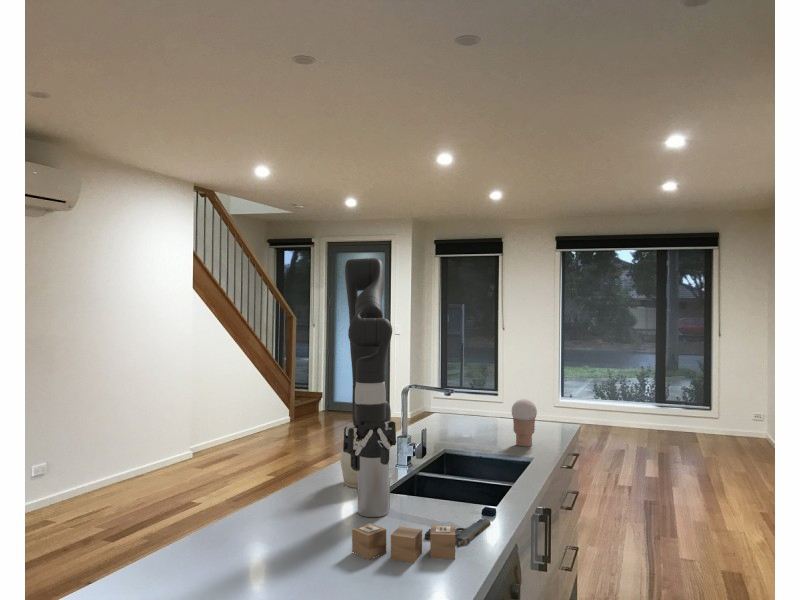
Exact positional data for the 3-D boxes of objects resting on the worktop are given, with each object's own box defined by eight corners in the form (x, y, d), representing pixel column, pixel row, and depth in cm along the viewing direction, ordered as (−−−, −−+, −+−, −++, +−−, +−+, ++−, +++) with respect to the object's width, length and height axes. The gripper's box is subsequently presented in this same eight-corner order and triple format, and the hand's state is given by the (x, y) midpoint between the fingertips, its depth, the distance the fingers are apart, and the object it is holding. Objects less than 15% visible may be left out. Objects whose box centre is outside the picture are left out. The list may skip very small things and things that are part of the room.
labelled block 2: (431, 548, 155) (431, 524, 155) (455, 549, 154) (455, 524, 155) (430, 558, 149) (430, 532, 149) (455, 559, 149) (455, 533, 149)
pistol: (452, 518, 178) (491, 526, 171) (422, 540, 161) (463, 549, 155) (453, 511, 178) (491, 519, 172) (422, 532, 161) (463, 541, 155)
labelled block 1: (370, 546, 156) (370, 522, 156) (386, 553, 152) (386, 528, 152) (352, 553, 152) (352, 528, 152) (368, 560, 148) (368, 534, 148)
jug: (358, 493, 199) (358, 416, 200) (331, 482, 211) (331, 410, 211) (393, 484, 209) (394, 411, 210) (366, 474, 221) (366, 405, 221)
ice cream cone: (540, 444, 269) (540, 398, 269) (531, 449, 260) (531, 402, 260) (517, 441, 275) (517, 396, 275) (507, 445, 266) (507, 399, 266)
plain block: (399, 550, 154) (399, 526, 154) (422, 553, 152) (422, 529, 152) (390, 559, 148) (390, 534, 148) (414, 563, 146) (414, 538, 146)
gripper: (384, 395, 156) (383, 459, 156) (337, 401, 147) (337, 469, 147) (402, 399, 150) (402, 465, 150) (355, 405, 141) (355, 476, 141)
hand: (370, 467), depth 148 cm, fingers open, 8 cm apart
